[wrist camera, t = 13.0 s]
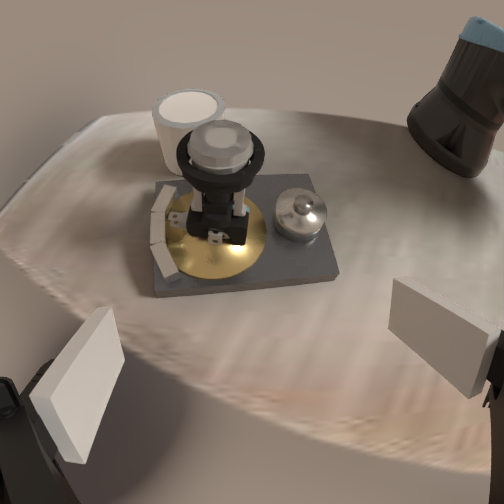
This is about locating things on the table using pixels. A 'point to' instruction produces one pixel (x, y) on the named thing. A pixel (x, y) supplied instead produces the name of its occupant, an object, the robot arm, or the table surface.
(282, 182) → the carrier plate
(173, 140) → the white tapered cup
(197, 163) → the push button
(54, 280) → the table surface
